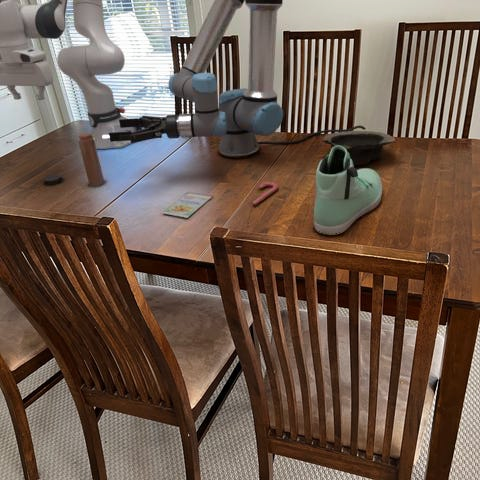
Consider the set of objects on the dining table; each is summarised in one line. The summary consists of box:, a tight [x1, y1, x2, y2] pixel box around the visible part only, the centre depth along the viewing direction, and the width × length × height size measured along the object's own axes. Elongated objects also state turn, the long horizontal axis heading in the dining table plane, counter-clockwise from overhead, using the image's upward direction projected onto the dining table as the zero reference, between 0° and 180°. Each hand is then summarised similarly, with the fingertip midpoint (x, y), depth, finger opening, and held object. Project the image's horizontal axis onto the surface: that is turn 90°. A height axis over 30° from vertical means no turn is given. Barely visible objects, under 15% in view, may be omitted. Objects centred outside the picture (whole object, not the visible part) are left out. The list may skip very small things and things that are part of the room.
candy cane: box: [252, 181, 279, 206], centre depth 150 cm, size 6×15×2 cm, turn 145°
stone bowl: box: [321, 130, 396, 167], centre depth 169 cm, size 25×25×9 cm
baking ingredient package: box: [162, 192, 212, 218], centre depth 147 cm, size 9×1×15 cm
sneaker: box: [313, 146, 383, 236], centre depth 133 cm, size 14×35×20 cm, turn 152°
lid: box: [43, 173, 63, 186], centre depth 171 cm, size 6×6×2 cm
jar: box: [77, 131, 105, 188], centre depth 163 cm, size 5×5×18 cm
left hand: (29, 99), depth 156 cm, fingers open, 8 cm apart
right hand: (114, 130), depth 157 cm, fingers open, 13 cm apart
